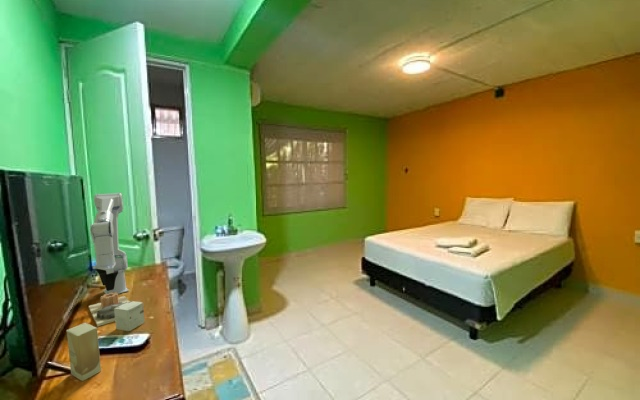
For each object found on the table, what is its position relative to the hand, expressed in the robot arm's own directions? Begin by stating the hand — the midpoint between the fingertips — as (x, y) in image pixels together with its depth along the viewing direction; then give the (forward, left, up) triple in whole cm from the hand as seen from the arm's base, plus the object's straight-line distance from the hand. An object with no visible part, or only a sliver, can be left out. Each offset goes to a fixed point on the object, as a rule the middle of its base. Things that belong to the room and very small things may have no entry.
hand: (108, 287), depth 112 cm
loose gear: (0, 0, -7) cm, 7 cm away
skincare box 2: (+22, +2, -8) cm, 24 cm away
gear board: (+4, 0, -8) cm, 9 cm away
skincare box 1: (+41, -12, -8) cm, 44 cm away
